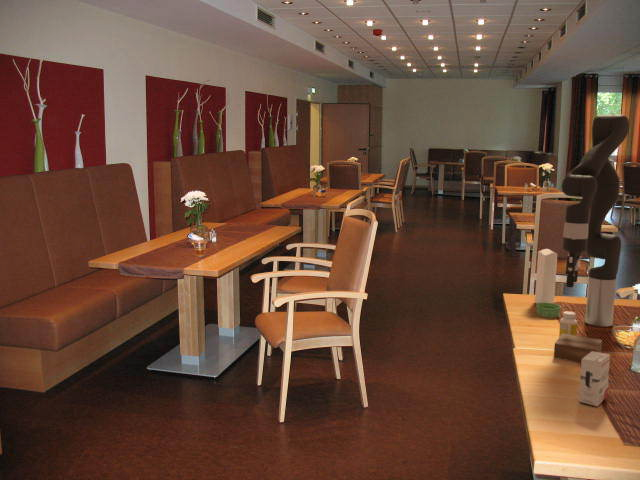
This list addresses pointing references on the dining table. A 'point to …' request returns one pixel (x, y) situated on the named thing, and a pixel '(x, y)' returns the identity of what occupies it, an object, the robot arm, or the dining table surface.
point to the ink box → (594, 378)
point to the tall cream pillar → (546, 276)
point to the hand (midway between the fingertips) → (571, 284)
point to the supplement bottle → (568, 324)
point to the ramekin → (548, 310)
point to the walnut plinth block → (575, 347)
